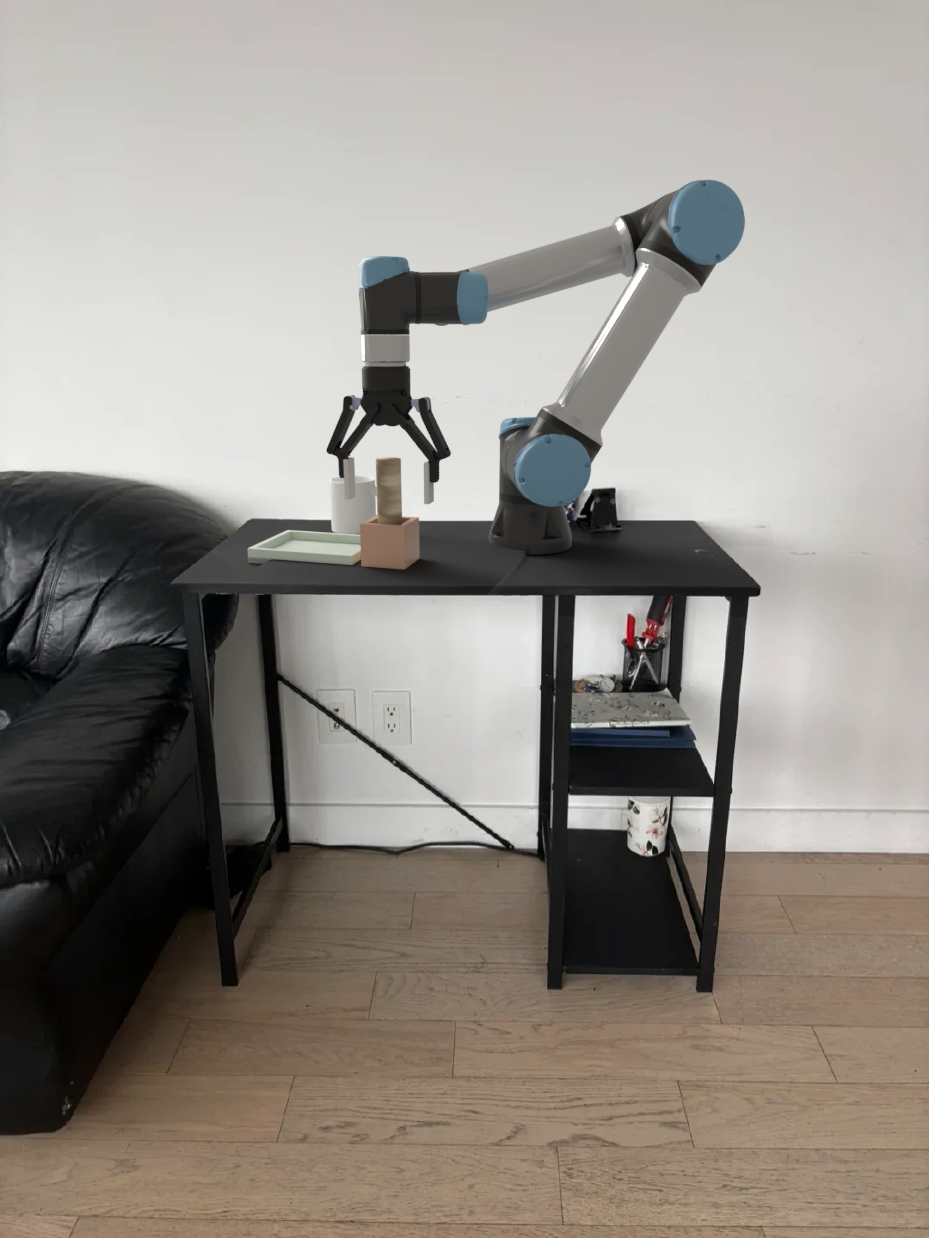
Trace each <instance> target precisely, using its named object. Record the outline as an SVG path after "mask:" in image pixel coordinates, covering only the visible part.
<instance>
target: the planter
mask: <svg viewBox="0 0 929 1238" xmlns="http://www.w3.org/2000/svg"><path fill="white" fill-rule="evenodd" d="M359 535H360V543H361V560H360V563H361V564H360V565H361V567H365V568H376V569H377V568H379V569H391V570H406V569H408V568H409V567H410V566H412V564H414V563H416V562H418V560H420V556H421V555H420V517H417V516H403V515H402V524H401V525H393V524H378V518H377V514H376V516H374V517H372V518H370V519H368V520H366V521H364V522H362V523H360V534H359Z"/></svg>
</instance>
